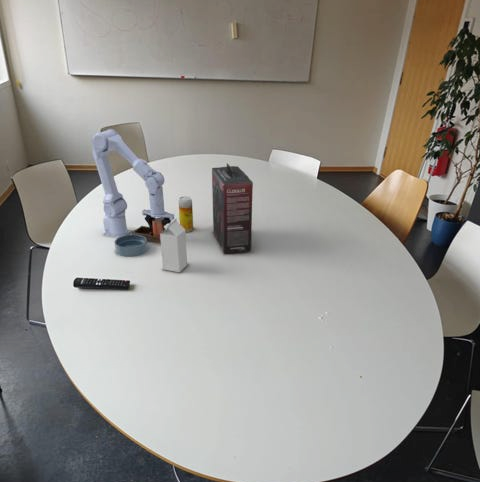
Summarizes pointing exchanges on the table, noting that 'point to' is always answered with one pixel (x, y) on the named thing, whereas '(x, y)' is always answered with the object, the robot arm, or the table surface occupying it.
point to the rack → (147, 234)
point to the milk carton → (173, 247)
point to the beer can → (186, 213)
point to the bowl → (131, 245)
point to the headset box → (232, 208)
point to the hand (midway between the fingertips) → (159, 232)
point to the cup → (157, 226)
